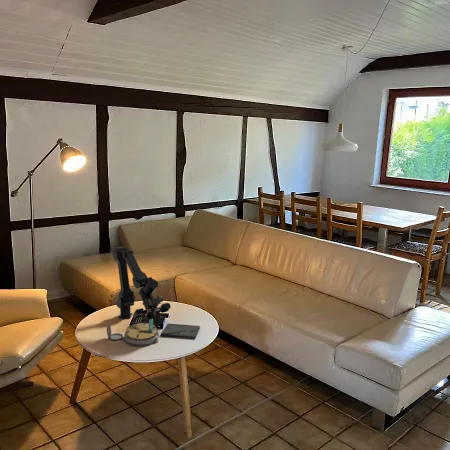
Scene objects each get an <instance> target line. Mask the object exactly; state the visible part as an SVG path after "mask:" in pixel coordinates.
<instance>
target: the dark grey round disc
mask: <svg viewBox="0 0 450 450" xmlns="http://www.w3.org/2000/svg"><path fill="white" fill-rule="evenodd" d="M159 340H160V336H159V331H158V330H157V334H156V336H155V337H153V338H151V339H148V340H143V341H136V340H131V339H129V338H127V336H126V331H125V332H124V334H123V341H124V343H125V344H126V345H128V346H130V347H131V346H132V347H146V346H147V347H148V346H150V345H151V346H152V345H153V344H155V343H159Z"/></svg>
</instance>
